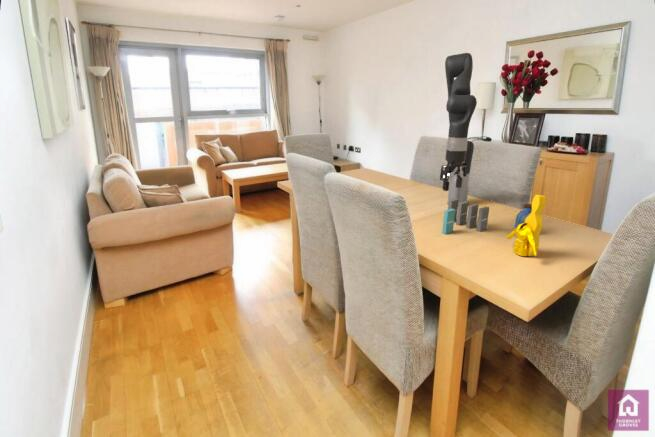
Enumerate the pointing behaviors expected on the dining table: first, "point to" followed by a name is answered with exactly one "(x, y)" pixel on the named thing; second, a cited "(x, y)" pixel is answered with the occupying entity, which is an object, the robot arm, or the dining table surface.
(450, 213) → the end tile
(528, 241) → the figure statuette
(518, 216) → the perfume bottle
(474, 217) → the tile
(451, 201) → the tile
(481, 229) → the tile
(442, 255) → the dining table surface
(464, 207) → the tile
